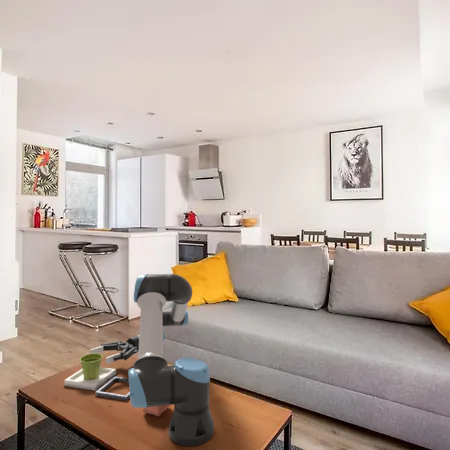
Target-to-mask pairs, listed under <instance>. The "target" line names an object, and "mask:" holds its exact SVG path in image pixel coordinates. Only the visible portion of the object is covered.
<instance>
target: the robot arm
mask: <svg viewBox="0 0 450 450" xmlns="http://www.w3.org/2000/svg"><path fill="white" fill-rule="evenodd" d="M134 284H135V285H134V291H133V301H134V303H136V305H137V307H138V308H139V309H140V312H139V313H140V314H139V315H140V316H139V332H138V333H139V334H138V335H135V336H132V337H129V338H128V339H127V340H126V341H125V342H123V341H122V340H119V341H113V342H104V343H101V344H100V346H98V347H94V348H91V349H89V354H94V353H97V354H101V353H103V352H105V351H108V352H109V351H116V352H118V353H116V354H113V355H109V356H107V357H105V365H108V364H112V363H115V362H117V361H119V360H121V361H122V360H124V361H127V360H129V358H131V357H132V356H134V354H138V355H137V359H136V360H135V361H134V362H133V365H132V367H131V368H129V369H128V371H127V372H128V378H129V383H128V387H129V392H130V398H129V400H130V402H129V403H130V405H131V407H132V408H135V409H139V408H140V409H141V408H143V407H144V408H146V407H154V406H163V405H170V406H172V405H174V406H173V407H174V409H173V412H172V416H171V418H170V421H169V424H168V436H169V438H170V440H171V441H172V442H174V443H175V444H177V445H180V446H184V447H195V446H200V445H202V444H205V443H207V442H208V441H210V439H211V438H212V437H213V435H214V433H215V422H214V419H213V415H212V413H211V409H210V381H211V377H210V368H209V366H208V364H207V363H206V362H205V361H203V360H201V359H199V358H198V359H197V358H194V357H182V358H179V359H177V360H175V363H174V364H173V365H168V360H167V359H166V358H165V357H164V351H163V350H164V341H165V338H166V337H165V331H164V330H163V329H164V328H163V327H179V326H180V327H182V326H187V325H188V324H189V312H188V311H187V308H188V304H189V302H190V301H191V299H192V297H193V289H192V285H191V284H190V282H189V281H188V280H187V279H186V278H185V277H183V276H181V275H179V274H176V273H168V274H167V273H165V274H160V273H159V274H157V273H156V274H155V273H154V274H152V273H151V274H149V273H148V274H141V275H139V276H137V278H136V280H135V283H134ZM167 302H171V307H170V308H171V309H170V311H168V310H167V311H163V308H164V307H165V306H166V304H167Z"/></svg>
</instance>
